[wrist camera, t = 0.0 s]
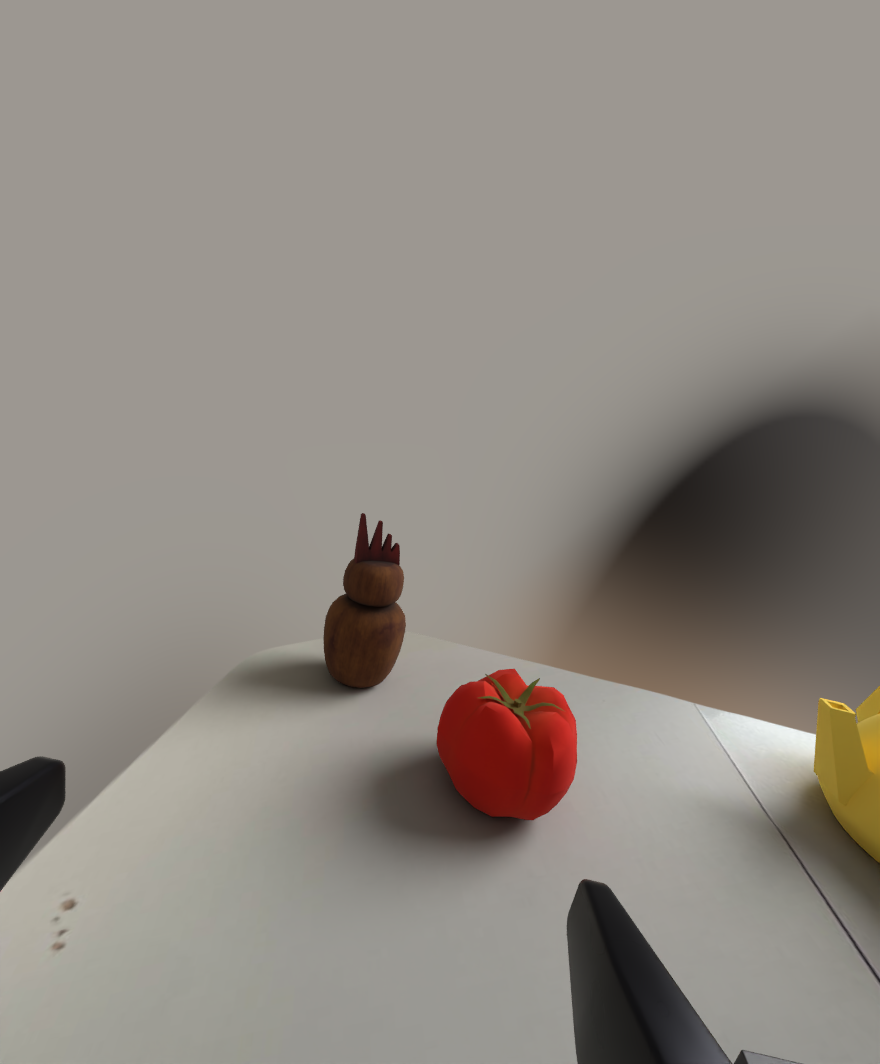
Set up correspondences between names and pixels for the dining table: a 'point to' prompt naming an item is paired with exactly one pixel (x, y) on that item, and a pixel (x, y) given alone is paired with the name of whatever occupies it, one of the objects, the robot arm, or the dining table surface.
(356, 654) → the wooden figurine
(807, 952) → the dining table surface
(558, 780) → the tomato
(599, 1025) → the robot arm
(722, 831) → the dining table surface
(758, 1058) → the scale
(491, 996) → the dining table surface
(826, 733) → the teapot
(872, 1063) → the dining table surface
